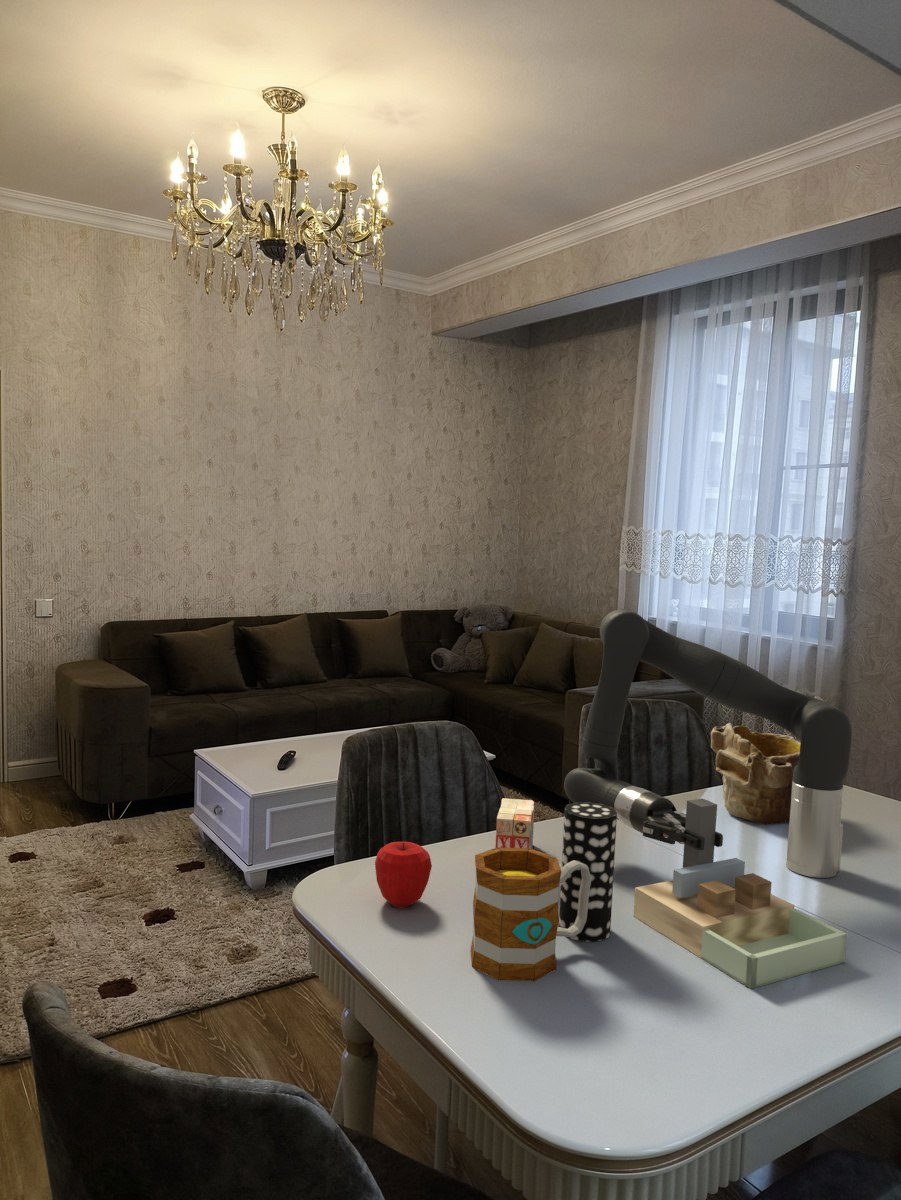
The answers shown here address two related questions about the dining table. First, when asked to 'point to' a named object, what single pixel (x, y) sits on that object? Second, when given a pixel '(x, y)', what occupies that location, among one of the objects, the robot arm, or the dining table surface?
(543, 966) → the mug
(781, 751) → the ceramic vessel
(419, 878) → the apple
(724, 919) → the board
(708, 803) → the scraper
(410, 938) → the dining table surface
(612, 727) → the robot arm
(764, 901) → the brown wood cube
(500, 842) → the stack of blocks
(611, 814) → the spotted tube
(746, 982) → the tray
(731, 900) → the brown wooden cube
